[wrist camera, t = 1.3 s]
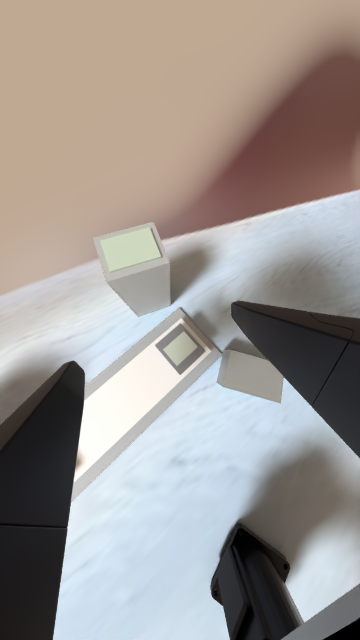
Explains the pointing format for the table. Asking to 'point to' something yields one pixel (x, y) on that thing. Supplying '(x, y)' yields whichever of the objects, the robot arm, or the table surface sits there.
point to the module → (136, 267)
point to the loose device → (250, 375)
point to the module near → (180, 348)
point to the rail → (132, 398)
